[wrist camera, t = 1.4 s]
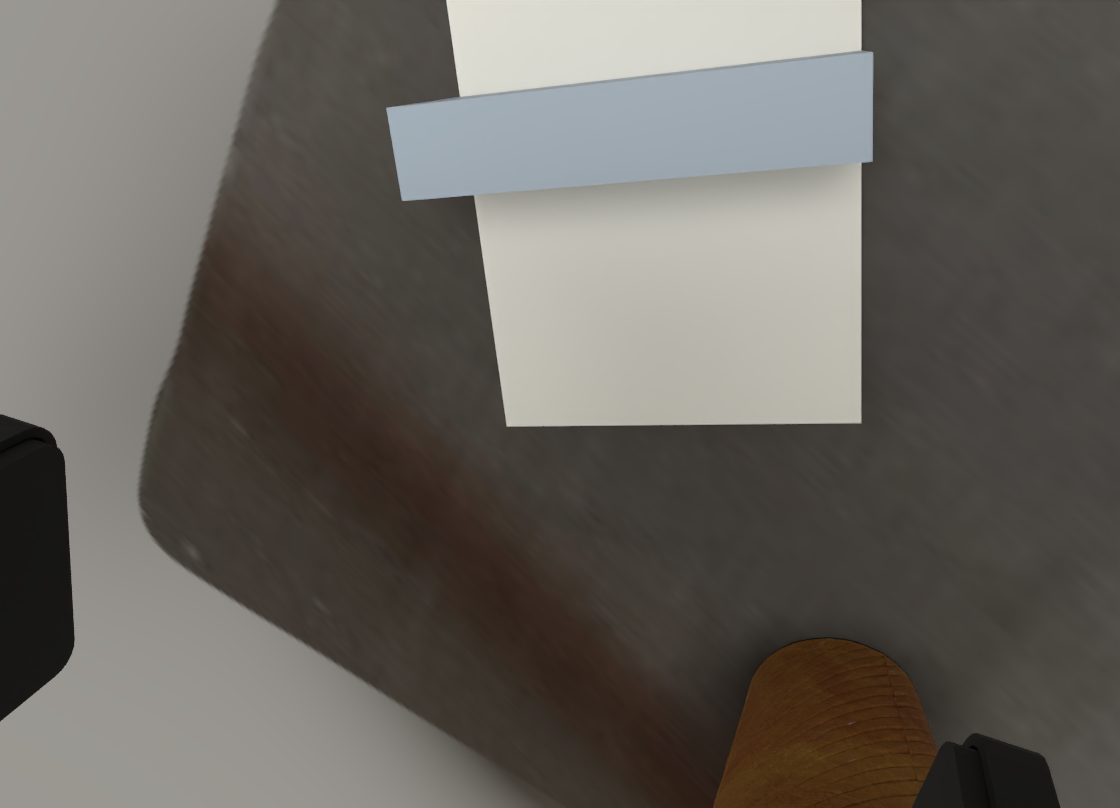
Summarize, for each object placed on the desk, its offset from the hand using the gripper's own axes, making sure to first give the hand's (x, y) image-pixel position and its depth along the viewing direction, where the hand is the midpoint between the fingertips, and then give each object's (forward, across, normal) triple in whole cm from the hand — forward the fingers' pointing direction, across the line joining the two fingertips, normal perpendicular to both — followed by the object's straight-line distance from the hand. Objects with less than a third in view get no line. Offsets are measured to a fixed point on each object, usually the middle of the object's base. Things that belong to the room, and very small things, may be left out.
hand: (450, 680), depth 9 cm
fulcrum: (+22, +3, -3) cm, 23 cm away
